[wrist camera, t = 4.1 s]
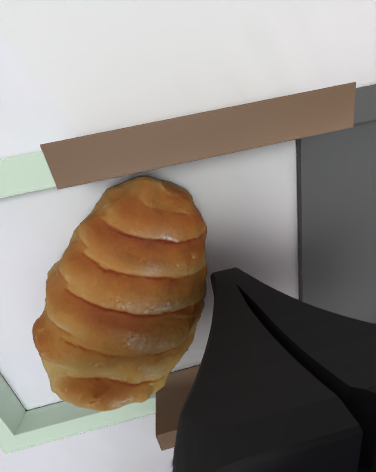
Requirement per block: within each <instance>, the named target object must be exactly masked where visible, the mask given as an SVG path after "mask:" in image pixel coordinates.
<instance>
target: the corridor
mask: <svg viewBox="0 0 376 472" xmlns="http://www.w3.org/2000/svg"><path fill="white" fill-rule="evenodd" d="M355 91H356V82H353V83H348V84H343V85H338V86H333V87H328V88H323V89H318V90H313V91H308V92H303V93H298V94H293V95H288V96H283V97H278V98H273V99H268V100H263V101H258V102H253V103H247V104H242V105H237V106H232V107H227V108H222V109H217V110H212V111H207V112H202V113H197V114H192V115H187V116H182V117H177V118H172V119H167V120H162V121H157V122H152V123H147V124H142V125H137V126H132V127H127V128H122V129H117V130H112V131H107V132H102V133H97V134H92V135H87V136H82V137H76V138H71V139H66V140H61V141H56V142H51V143H46V144H41V145H40V147H41V149H42V152H43V154H44V157H45V159H46V162H47V164H48V167H49V169H50V172H51V174H52V177H53V179H54V182H55V184H56V187H57V189H63V188H67V187H72V186H77V185H82V184H86V183H91V182H96V181H101V180H105V179H110V178H115V177H120V176H124V175H129V174H134V173H138V172H143V171H148V170H153V169H157V168H162V167H167V166H172V165H176V164H181V163H186V162H191V161H195V160H200V159H205V158H210V157H214V156H219V155H224V154H228V153H233V152H238V151H243V150H247V149H252V148H257V147H262V146H266V145H271V144H276V143H281V142H285V141H290V140H295V139H300V138H304V137H309V136H314V135H318V134H323V133H328V132H333V131H337V130H342V129H347V128H352V127H353V122H354V107H355ZM199 367H200V365H199V366H195V367H191V368H187V369H184V370H180V371H176V372H172V373H169V375H168V376H167V379H166V382H165V386H163V387H162V388H161V389H159V390H158V391H157V392H156V438H157V440H158V443H159V445H160V448H161V450H166V449H169V448H173V447H175V441H176V434H177V428H178V422H179V417H180V412H181V410H182V407H183V405H184V403H185V401H186V399H187V396H188V394H189V392H190V390H191V388H192V385H193V383H194V381H195V378H196V376H197V373H198V370H199Z"/></svg>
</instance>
